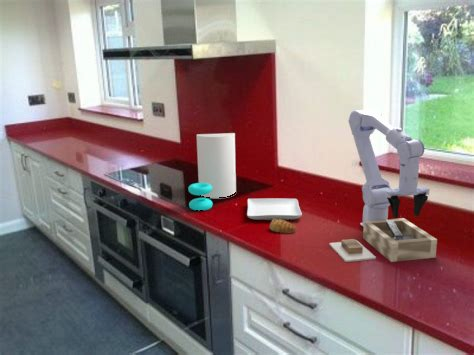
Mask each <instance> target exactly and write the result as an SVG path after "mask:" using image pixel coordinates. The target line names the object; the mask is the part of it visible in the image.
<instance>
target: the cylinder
mask: <svg viewBox="0 0 474 355" xmlns="http://www.w3.org/2000/svg"><path fill="white" fill-rule="evenodd" d="M196 152H197V153H196V154H197V173H198V174H197V176H198V183H207V184H210V185H211V186H212V191H211V192H210V193H208V194H206V195H201V197H202V196H204V197H203V198H206V197H210V198H209V199H220V198H219V197H226V198H228V197H227V196H230V195H232V194H234V193H235V192H236V193H237V174H236V133H235V132H229V133H228V132H227V133H226V132H225V133H224V132H223V133H200V134H199V133H198V134H196Z"/></svg>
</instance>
